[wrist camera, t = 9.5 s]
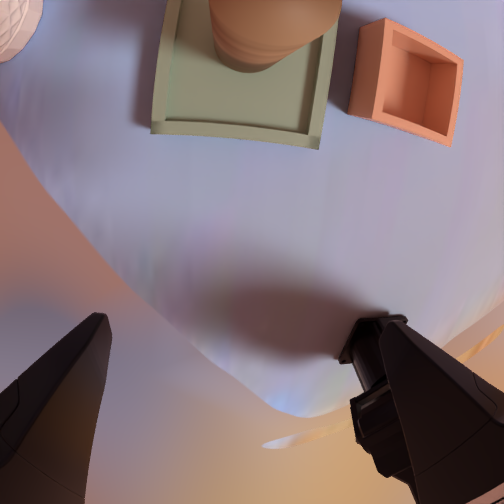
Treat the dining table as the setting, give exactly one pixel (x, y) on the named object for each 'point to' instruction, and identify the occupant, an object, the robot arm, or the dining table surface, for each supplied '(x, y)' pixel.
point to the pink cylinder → (17, 25)
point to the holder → (406, 82)
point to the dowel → (267, 29)
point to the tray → (237, 86)
